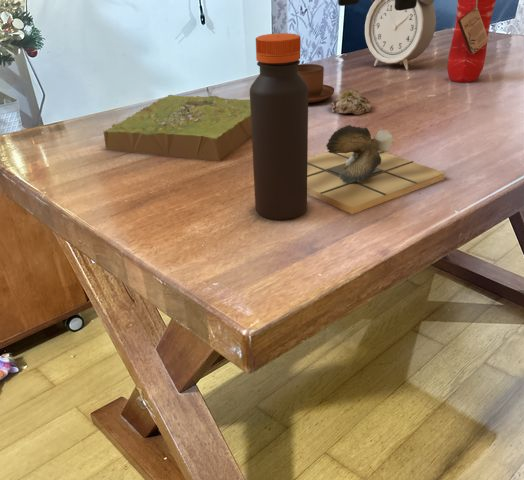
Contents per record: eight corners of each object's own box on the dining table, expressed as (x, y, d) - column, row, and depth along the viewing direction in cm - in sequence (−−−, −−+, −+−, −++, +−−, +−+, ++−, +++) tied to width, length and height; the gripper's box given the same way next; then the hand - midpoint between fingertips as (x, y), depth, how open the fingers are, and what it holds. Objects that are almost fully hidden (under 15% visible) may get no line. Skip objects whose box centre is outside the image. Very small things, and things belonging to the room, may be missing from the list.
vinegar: (245, 215, 70) (234, 40, 58) (272, 196, 75) (267, 30, 62) (291, 225, 67) (289, 43, 55) (316, 205, 72) (320, 33, 59)
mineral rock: (372, 104, 101) (332, 90, 101) (364, 127, 104) (325, 114, 104) (378, 92, 109) (340, 79, 110) (370, 113, 112) (334, 101, 113)
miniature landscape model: (105, 150, 94) (99, 120, 90) (172, 112, 110) (168, 86, 107) (218, 161, 87) (215, 129, 84) (271, 120, 104) (270, 91, 101)
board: (444, 179, 77) (445, 171, 76) (351, 214, 69) (352, 205, 68) (356, 149, 89) (356, 141, 88) (268, 176, 81) (268, 168, 80)
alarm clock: (358, 66, 138) (365, -39, 125) (376, 60, 143) (384, -42, 130) (417, 73, 130) (431, -40, 116) (433, 66, 135) (449, -43, 121)
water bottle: (479, 88, 116) (507, -57, 100) (440, 87, 118) (462, -56, 103) (483, 76, 125) (509, -60, 109) (447, 74, 127) (468, -59, 111)
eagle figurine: (337, 149, 82) (313, 156, 75) (368, 108, 78) (344, 112, 71) (373, 183, 81) (352, 194, 74) (406, 144, 77) (386, 152, 70)
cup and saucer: (292, 110, 108) (292, 77, 104) (268, 97, 117) (267, 66, 113) (344, 102, 112) (346, 69, 108) (316, 90, 121) (317, 59, 117)
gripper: (479, -197, 53) (451, 7, 64) (355, -170, 65) (348, -1, 75) (429, -200, 50) (408, 15, 61) (307, -171, 61) (307, 6, 72)
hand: (375, 6), depth 68 cm, fingers open, 9 cm apart
